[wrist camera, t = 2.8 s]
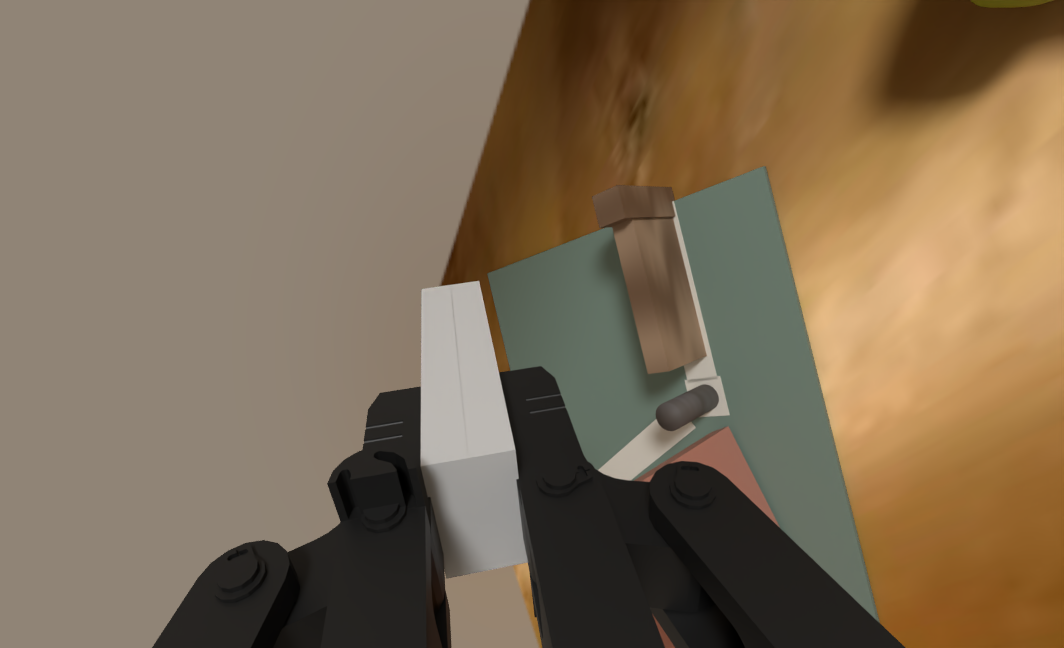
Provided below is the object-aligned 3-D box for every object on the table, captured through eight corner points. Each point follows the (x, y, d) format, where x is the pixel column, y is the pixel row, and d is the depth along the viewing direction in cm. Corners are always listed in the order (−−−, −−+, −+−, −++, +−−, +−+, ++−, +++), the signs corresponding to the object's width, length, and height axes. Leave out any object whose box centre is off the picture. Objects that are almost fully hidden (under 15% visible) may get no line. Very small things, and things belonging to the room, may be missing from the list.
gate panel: (711, 431, 33) (574, 517, 24) (728, 425, 33) (592, 512, 24) (829, 667, 31) (724, 864, 22) (851, 667, 30) (751, 871, 21)
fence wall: (646, 197, 35) (591, 196, 31) (671, 187, 33) (617, 185, 30) (699, 409, 35) (650, 436, 31) (725, 407, 33) (678, 434, 29)
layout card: (490, 273, 46) (486, 273, 46) (765, 166, 30) (763, 166, 29) (571, 613, 46) (568, 615, 45) (899, 701, 29) (897, 705, 29)
